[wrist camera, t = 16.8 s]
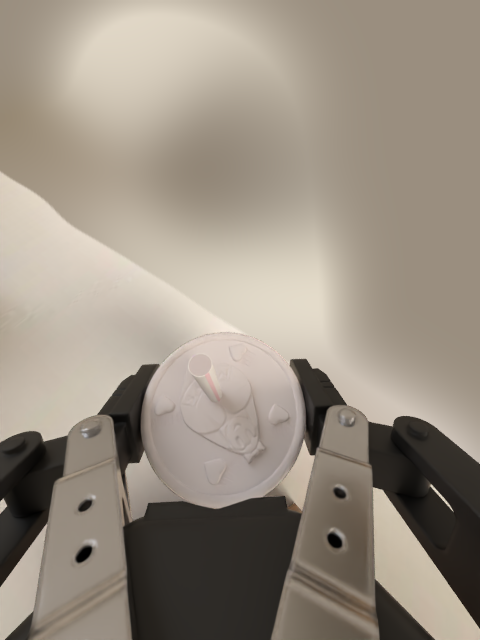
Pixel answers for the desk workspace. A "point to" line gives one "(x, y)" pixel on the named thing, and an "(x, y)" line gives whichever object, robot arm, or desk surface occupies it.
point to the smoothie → (223, 419)
